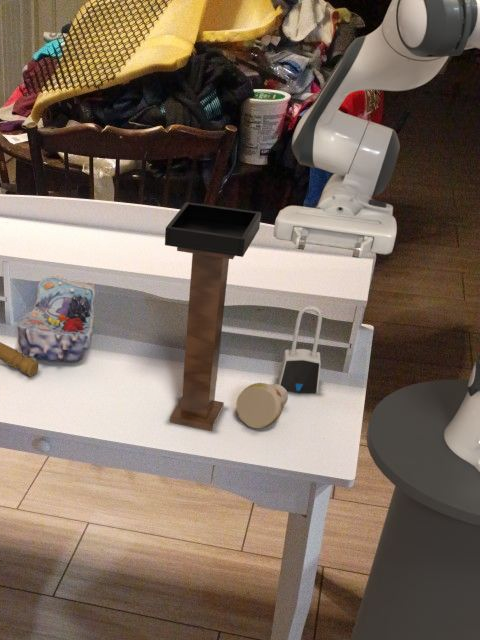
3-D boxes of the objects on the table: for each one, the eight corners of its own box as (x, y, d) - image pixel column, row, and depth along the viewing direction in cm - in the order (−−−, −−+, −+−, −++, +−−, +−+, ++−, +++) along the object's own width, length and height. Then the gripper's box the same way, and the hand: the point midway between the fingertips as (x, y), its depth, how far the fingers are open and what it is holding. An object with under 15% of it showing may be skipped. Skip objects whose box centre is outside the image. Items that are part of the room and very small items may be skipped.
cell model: (101, 272, 157) (92, 315, 141) (96, 326, 163) (88, 374, 147) (31, 265, 157) (14, 308, 141) (29, 320, 163) (13, 367, 147)
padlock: (277, 391, 144) (290, 310, 134) (277, 378, 147) (290, 298, 137) (317, 394, 143) (333, 313, 134) (316, 381, 146) (332, 301, 137)
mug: (298, 407, 141) (305, 378, 132) (262, 449, 139) (267, 423, 130) (261, 382, 143) (265, 352, 134) (225, 424, 141) (227, 397, 132)
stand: (226, 407, 141) (247, 230, 121) (214, 433, 135) (233, 252, 115) (180, 397, 143) (193, 222, 123) (166, 423, 137) (177, 244, 118)
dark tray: (259, 229, 121) (261, 212, 120) (242, 257, 114) (245, 239, 113) (185, 218, 124) (186, 201, 123) (164, 245, 117) (165, 227, 116)
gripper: (283, 191, 151) (268, 222, 141) (402, 206, 146) (395, 239, 136) (278, 225, 155) (263, 257, 145) (394, 241, 150) (386, 276, 140)
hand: (328, 249), depth 141 cm, fingers open, 8 cm apart
